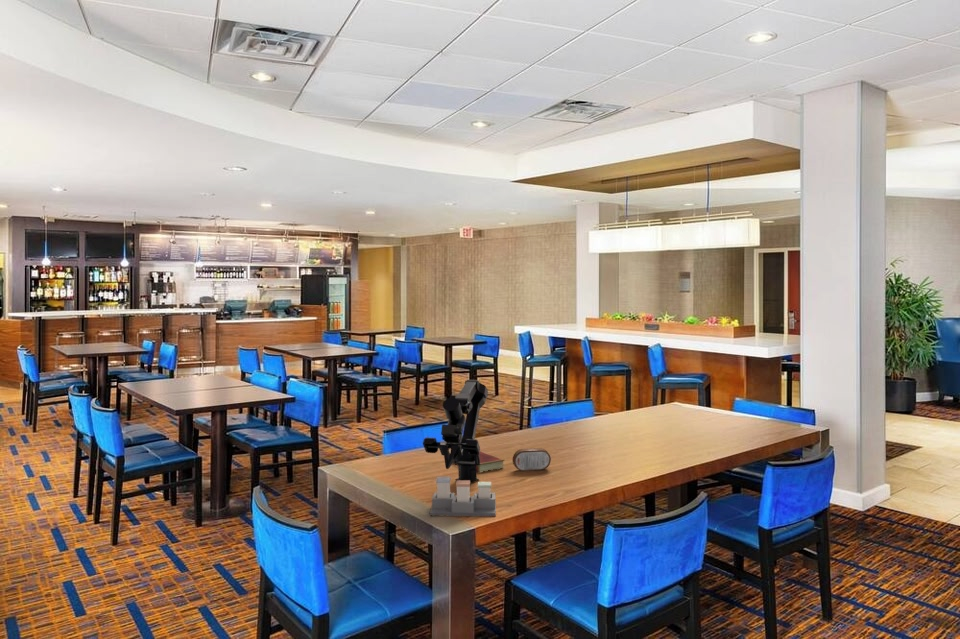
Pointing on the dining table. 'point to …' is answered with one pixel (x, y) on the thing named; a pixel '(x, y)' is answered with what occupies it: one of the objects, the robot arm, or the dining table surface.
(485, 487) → the key
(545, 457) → the tin
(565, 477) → the dining table surface
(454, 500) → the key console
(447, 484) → the grey upright block
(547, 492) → the dining table surface
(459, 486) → the key
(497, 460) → the hardcover book
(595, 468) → the dining table surface
